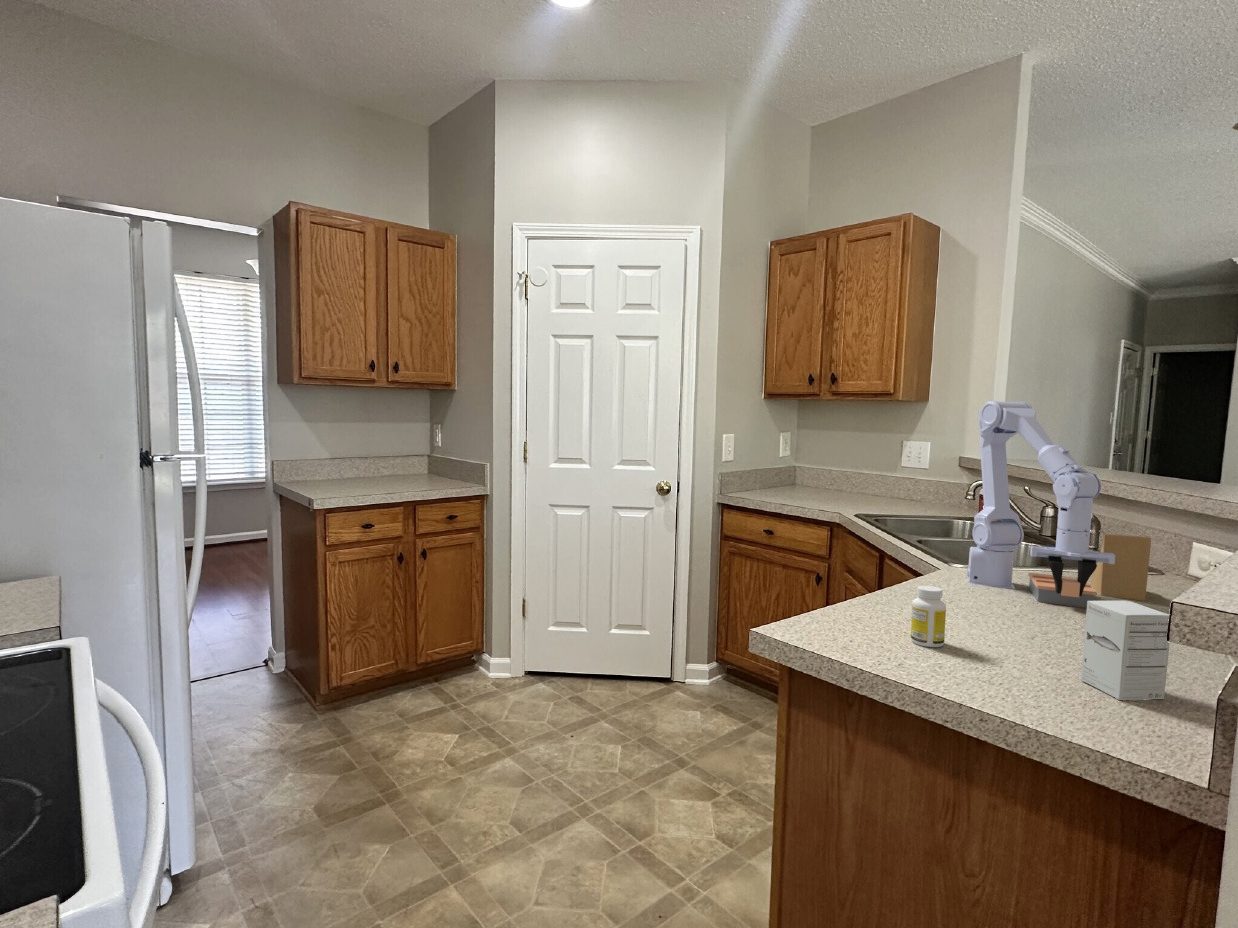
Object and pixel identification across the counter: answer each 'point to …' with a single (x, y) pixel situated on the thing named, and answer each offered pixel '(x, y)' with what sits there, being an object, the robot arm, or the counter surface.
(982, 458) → the robot arm
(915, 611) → the supplement bottle
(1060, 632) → the counter surface
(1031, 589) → the tub
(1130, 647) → the supplement box
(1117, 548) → the sandwich container
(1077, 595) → the lid
